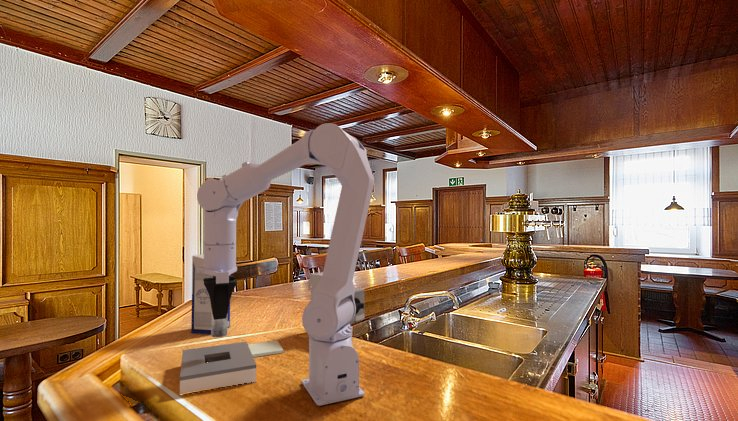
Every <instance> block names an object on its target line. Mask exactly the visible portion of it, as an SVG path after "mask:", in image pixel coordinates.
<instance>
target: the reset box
mask: <svg viewBox="0 0 738 421" xmlns="http://www.w3.org/2000/svg"><path fill="white" fill-rule="evenodd" d="M248 345H249V344H248V342H247V341H240V342H233V343H227V344H220V345H219V344H218V345H210V346H206V347H204V346H203V347H195V348H188V349H182V355H181V364H180V372H179V374H180V375H179V395H180V394H183V393H187V392H193V391H198V390H204V389H209V388H216V387H217V388H218V387H225V386H231V387H233V386H232V385H236V386H239V385H238V384H242V385H245V384H244V383H247V384H252V383H257V363H256V360H255V357H253V356H252V353H251V351H250V349H249V346H248ZM207 362H208V363H207ZM251 382H252V383H251ZM225 388H226V387H225Z"/></svg>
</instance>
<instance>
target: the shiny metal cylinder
mask: <svg viewBox="0 0 738 421" xmlns="http://www.w3.org/2000/svg"><path fill="white" fill-rule="evenodd" d="M227 322H228V313H227V317H226V319H217V320H214V318H213V314H212V321H211V334H210V335H211V336H210V337H212V338H223V337H225V336H228V328H227Z"/></svg>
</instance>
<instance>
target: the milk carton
mask: <svg viewBox="0 0 738 421" xmlns="http://www.w3.org/2000/svg"><path fill="white" fill-rule="evenodd" d="M191 258H192V264H191V267H192V268H191V320H190V321H191V324H190V325H191V329H190V332H191V334H197V335H198V334H199V335H200V334H201V335H211V321H212V309H211V302H210V297H209V294H208V291H207V289H206V287H205V285H204V281H203V279H204V278H213V275H209V274H204V273H197V268H203V266H204V253H203V254H193V255H192V257H191ZM230 327H231V302H230V303H229V308H228V322H227V329H229V328H230Z"/></svg>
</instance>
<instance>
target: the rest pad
mask: <svg viewBox="0 0 738 421" xmlns="http://www.w3.org/2000/svg"><path fill="white" fill-rule="evenodd" d="M248 346H249V349H250V351H251V353H252V356H253V358H259V357H266V356H270V355H276V354H284V349H283V347H282V345H281V344H280V343H279V341H278V340H272V341H264V342H258V343H257V342H256V343H251V344H248Z"/></svg>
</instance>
